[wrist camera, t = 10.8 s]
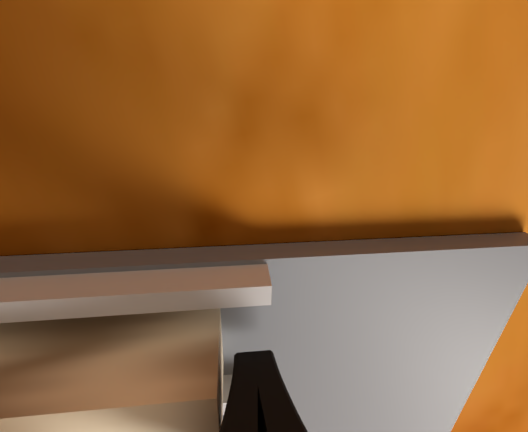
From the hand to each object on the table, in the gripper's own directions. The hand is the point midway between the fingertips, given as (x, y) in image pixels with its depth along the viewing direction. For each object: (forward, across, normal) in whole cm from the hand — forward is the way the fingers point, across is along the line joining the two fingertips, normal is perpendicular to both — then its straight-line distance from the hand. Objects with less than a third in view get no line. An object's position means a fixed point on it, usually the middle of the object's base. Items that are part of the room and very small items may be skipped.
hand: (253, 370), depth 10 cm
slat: (+2, +7, 0) cm, 7 cm away
